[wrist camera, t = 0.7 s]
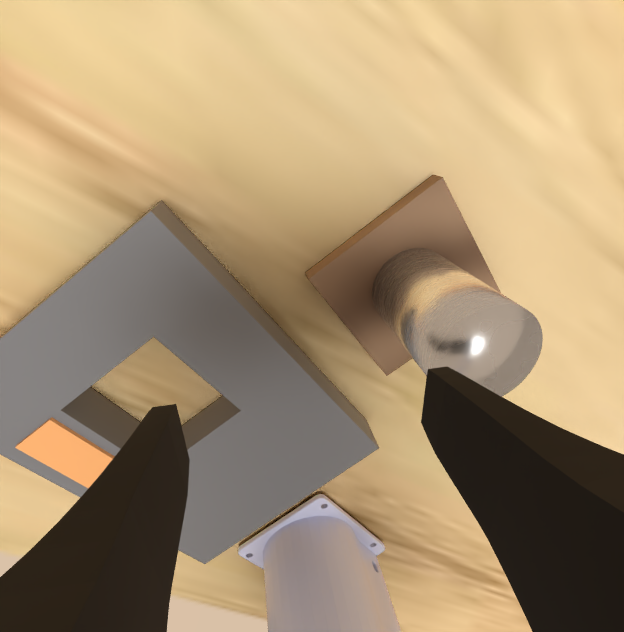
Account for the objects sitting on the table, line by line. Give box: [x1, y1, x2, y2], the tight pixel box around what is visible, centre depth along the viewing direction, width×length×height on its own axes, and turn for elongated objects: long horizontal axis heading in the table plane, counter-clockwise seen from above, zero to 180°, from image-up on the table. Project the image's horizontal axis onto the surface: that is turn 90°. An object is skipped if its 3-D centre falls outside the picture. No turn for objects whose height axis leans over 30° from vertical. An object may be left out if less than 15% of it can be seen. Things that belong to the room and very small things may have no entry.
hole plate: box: [0, 200, 379, 564], centre depth 21 cm, size 18×14×3 cm
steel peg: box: [372, 248, 542, 397], centre depth 17 cm, size 4×4×7 cm
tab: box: [305, 175, 501, 376], centre depth 21 cm, size 8×8×1 cm
